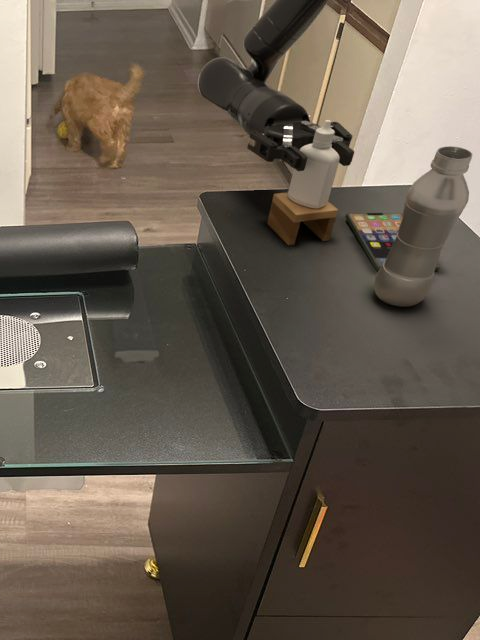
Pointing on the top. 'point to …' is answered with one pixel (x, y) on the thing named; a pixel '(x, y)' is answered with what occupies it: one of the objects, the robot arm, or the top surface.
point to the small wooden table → (300, 218)
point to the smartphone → (376, 234)
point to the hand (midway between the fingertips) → (326, 161)
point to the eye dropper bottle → (316, 171)
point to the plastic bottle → (424, 228)
